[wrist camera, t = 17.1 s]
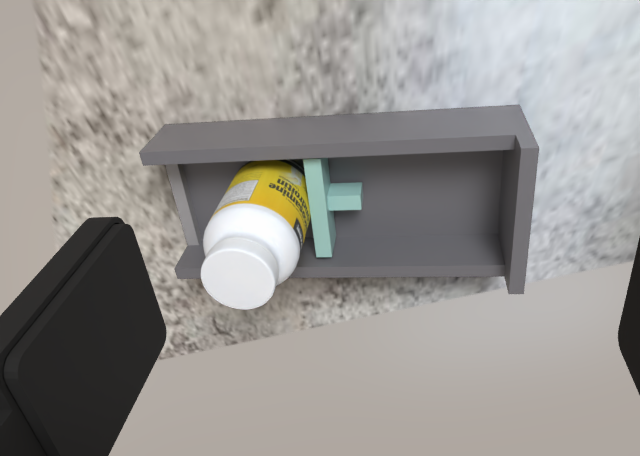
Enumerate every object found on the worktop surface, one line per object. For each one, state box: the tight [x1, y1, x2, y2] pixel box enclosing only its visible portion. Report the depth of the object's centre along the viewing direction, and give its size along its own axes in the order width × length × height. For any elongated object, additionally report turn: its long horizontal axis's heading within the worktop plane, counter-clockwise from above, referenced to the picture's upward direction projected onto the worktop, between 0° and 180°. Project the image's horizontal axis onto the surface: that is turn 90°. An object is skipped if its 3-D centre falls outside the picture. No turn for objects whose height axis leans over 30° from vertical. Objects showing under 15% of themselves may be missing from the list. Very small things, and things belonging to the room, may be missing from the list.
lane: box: [139, 105, 539, 294], centre depth 41 cm, size 26×11×7 cm, turn 96°
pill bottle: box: [201, 159, 311, 310], centre depth 39 cm, size 6×6×12 cm
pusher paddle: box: [303, 158, 363, 257], centre depth 42 cm, size 4×8×3 cm, turn 7°
